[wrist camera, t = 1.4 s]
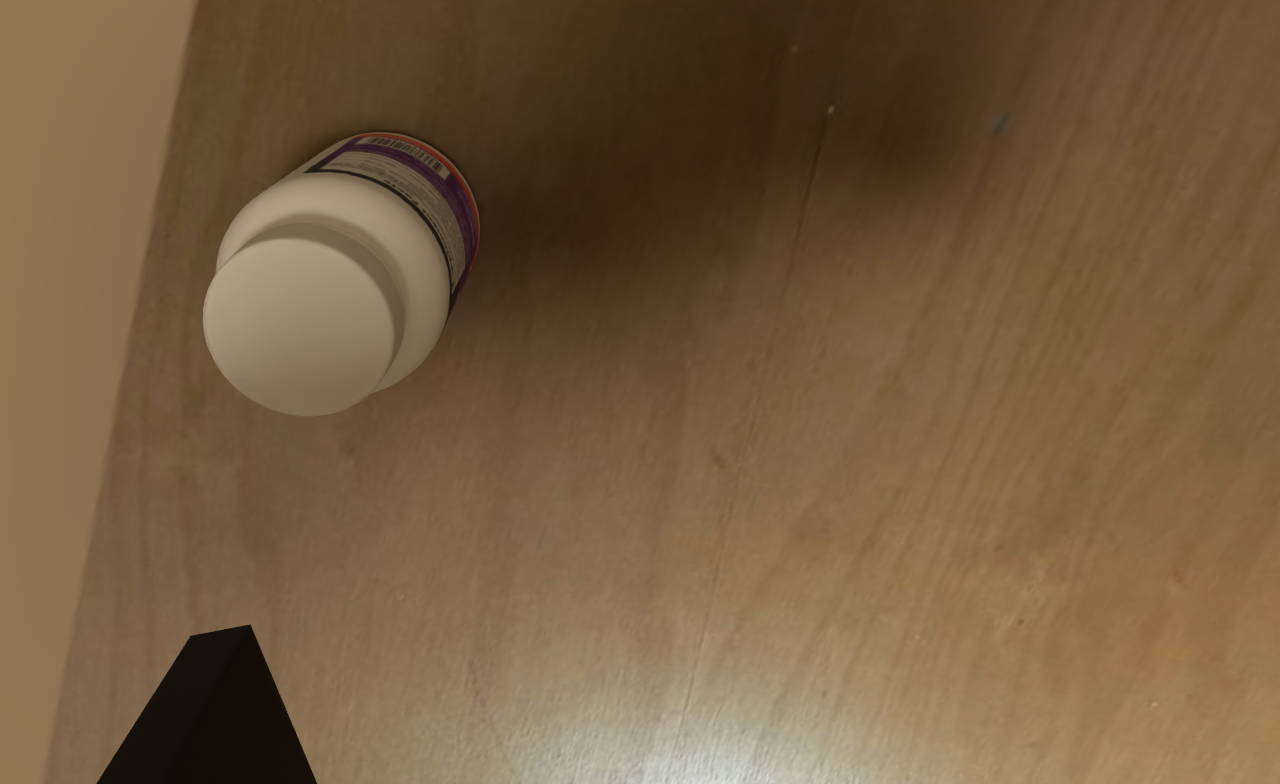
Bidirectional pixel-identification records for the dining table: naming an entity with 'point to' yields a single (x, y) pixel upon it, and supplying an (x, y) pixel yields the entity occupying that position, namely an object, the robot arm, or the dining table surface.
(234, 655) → the robot arm
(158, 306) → the dining table surface
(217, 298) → the pill bottle
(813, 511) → the dining table surface
